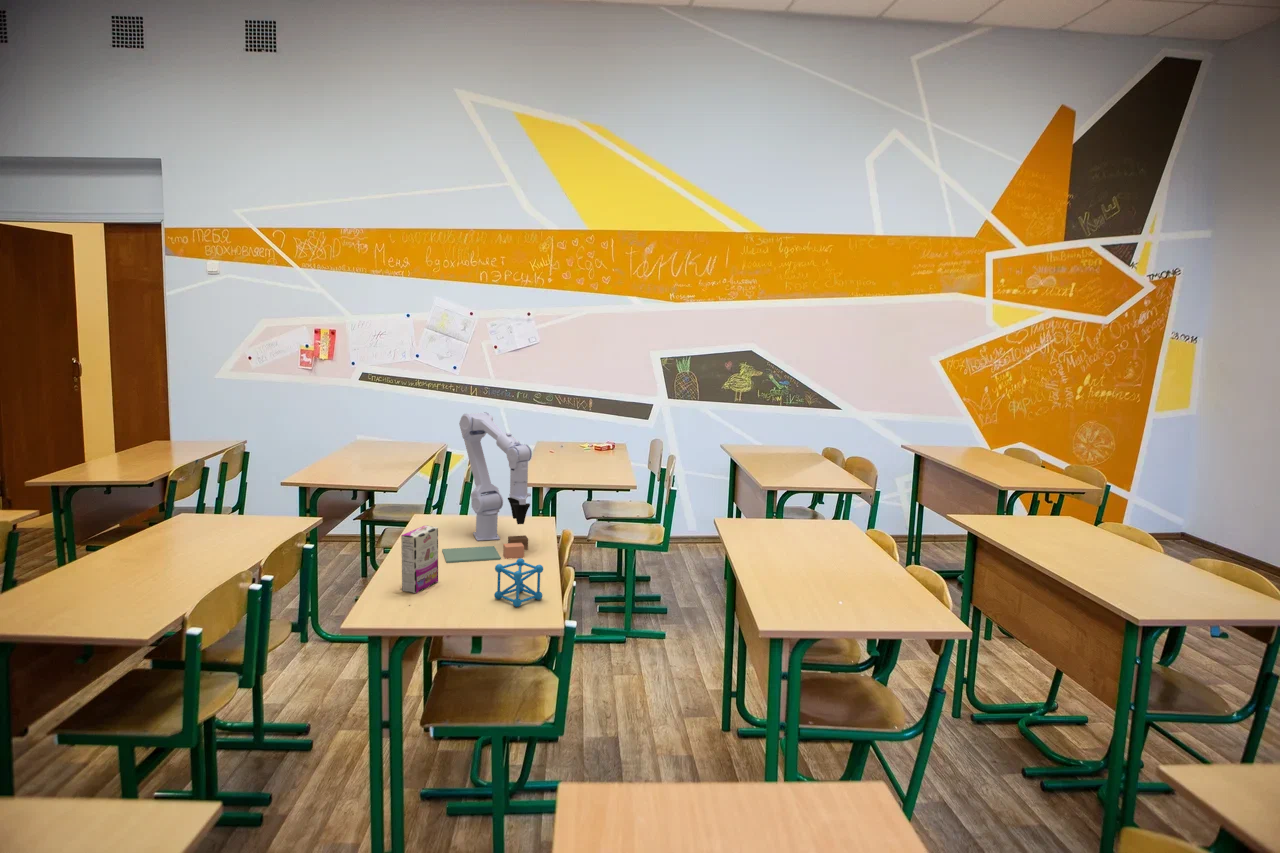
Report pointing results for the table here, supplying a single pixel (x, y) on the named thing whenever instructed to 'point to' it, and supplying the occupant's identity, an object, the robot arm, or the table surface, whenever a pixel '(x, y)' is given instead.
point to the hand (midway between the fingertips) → (518, 521)
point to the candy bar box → (419, 559)
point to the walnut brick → (519, 540)
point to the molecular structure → (518, 582)
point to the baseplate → (471, 554)
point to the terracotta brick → (513, 550)
